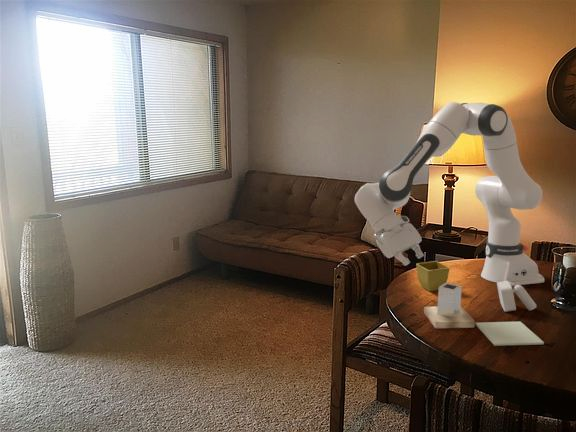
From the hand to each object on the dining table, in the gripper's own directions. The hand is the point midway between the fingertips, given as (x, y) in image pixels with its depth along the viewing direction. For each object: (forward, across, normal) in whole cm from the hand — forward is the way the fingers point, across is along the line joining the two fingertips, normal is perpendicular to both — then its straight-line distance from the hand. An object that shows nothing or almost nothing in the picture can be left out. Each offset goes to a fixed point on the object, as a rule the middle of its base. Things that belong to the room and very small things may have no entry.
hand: (414, 260), depth 165 cm
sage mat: (+33, +1, -9) cm, 34 cm away
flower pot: (+10, +22, +15) cm, 28 cm away
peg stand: (+21, 0, +3) cm, 21 cm away
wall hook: (+31, +22, -6) cm, 38 cm away
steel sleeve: (+19, 0, +2) cm, 19 cm away
